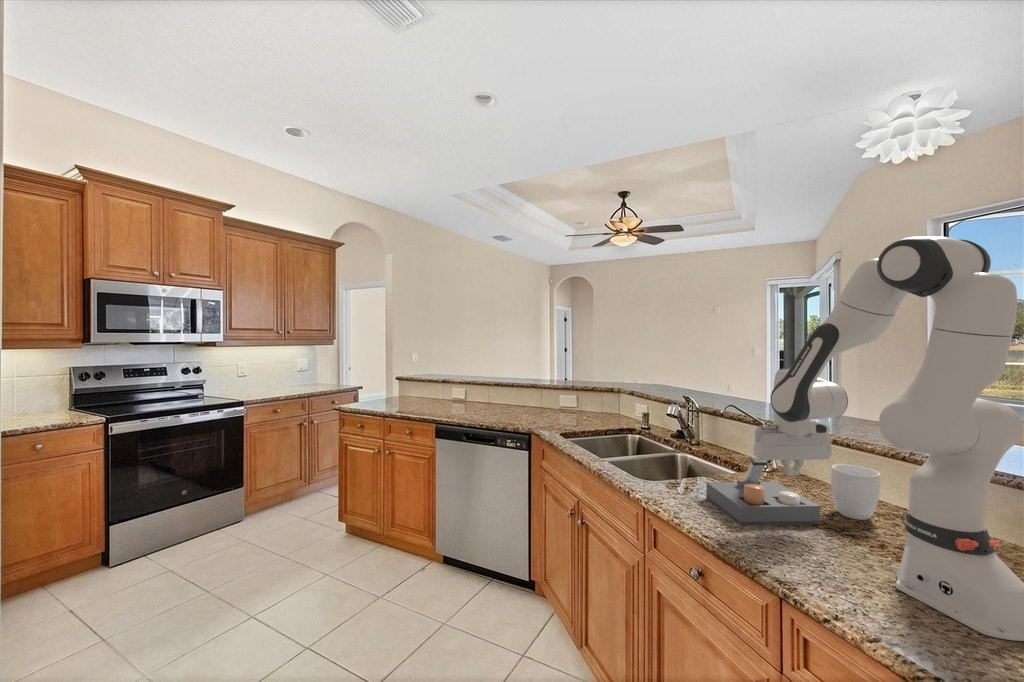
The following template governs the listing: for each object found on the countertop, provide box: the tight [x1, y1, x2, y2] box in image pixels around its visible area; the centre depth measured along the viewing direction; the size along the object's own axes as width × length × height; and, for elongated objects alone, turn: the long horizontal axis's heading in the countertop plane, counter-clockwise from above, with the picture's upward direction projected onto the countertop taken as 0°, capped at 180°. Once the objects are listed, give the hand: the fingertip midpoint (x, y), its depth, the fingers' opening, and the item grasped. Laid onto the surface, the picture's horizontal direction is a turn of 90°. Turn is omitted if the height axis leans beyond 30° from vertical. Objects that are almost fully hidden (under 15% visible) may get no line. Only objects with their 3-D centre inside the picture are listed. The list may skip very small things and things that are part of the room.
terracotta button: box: [744, 484, 765, 505], centre depth 124 cm, size 5×5×5 cm
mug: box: [830, 463, 881, 521], centre depth 128 cm, size 15×11×13 cm
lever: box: [742, 457, 769, 486], centre depth 132 cm, size 2×4×11 cm
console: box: [705, 478, 821, 526], centre depth 130 cm, size 19×22×7 cm
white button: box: [778, 491, 800, 505], centre depth 124 cm, size 5×5×5 cm
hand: (792, 475), depth 123 cm, fingers closed
